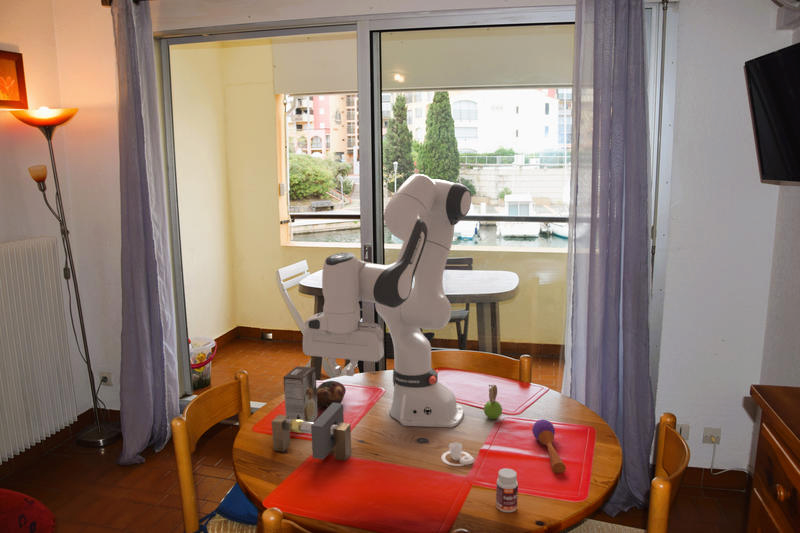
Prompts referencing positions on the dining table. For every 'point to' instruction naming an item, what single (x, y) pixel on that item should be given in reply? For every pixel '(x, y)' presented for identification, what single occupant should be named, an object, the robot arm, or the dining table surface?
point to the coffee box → (301, 394)
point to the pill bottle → (507, 490)
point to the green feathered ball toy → (492, 404)
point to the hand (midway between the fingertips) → (343, 374)
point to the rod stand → (285, 425)
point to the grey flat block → (325, 430)
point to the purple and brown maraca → (548, 443)
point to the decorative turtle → (330, 393)
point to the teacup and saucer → (457, 455)
